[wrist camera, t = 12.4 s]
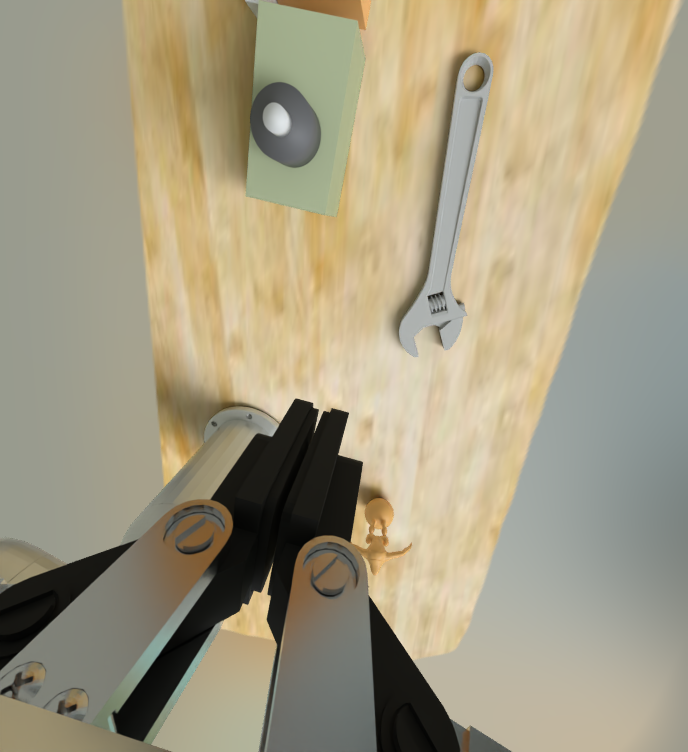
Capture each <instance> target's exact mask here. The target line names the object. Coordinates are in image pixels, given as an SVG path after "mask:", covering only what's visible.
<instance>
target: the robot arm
mask: <svg viewBox="0 0 688 752" xmlns="http://www.w3.org/2000/svg"><path fill="white" fill-rule="evenodd" d="M318 412H319V409H315V408H313V403H311V402H307V401H304V400H300V399H295V400H294V402H293V403H292V405H291V407H290V408H289V410H288V411H287V413H286V415H285V416H284V418H283V420H282V421H281V423H280V425H279V424H278V423H277V422H276V421H275V420H274V419H273V418H271V417H270V416H268V415H267V414H265V413H263V412H261V411H259V410H256V409H253V408H249V407H243V406H237V407H229V408H226V409H223V410H221V411H219V412H218V413H217V414H215V415H214V416H213V417H212V418H211V419H210V420H209V422H208V424H207V425H206V427H205V431H204V444H203V445H202V446H201V448H200V449H199V450H198V451H197V452H196V453H195V454H194V455H193V456H192V457H191V459H190V460H189V461H188V462H187V463H186V464H185V465H184V466H183V467H182V469H181V470H180V471H179V472H178V473H177V474H176V475H175V476H174V477H173V478H172V480H171V481H170V482H169V483H168V484H167V485H166V486H165V487H164V488H163V489H162V491H161V492H160V493H159V494H158V495H157V496H156V497H155V498H154V499H153V501H152V502H151V503H150V504H149V505H148V506H147V507H146V508H145V510H144V511H143V512H142V513H141V514H140V515H139V516H138V517H137V518H136V519H135V520H134V522H133V523H132V524H131V525H130V527H129V529H128V530H127V532H126V534H125V535H124V538H123V540H122V542H121V545H120V546H118V547H115V548H112V549H109V550H106V551H104V552H101V553H98V554H95V555H92V556H89V557H86V558H84V559H81V560H78V561H75V562H72V563H69V564H66V563H65V562H63V561H61V560H60V559H58V558H56V557H54V556H53V555H51V554H49V553H47V552H45V551H44V550H42V549H40V548H38V547H36V546H34V545H32V544H30V543H28V542H25V541H22V540H18V539H13V538H0V752H171V751H168V750H165V749H162V748H159V747H156V746H153V745H151V744H152V742H153V740H154V739H155V737H156V735H157V734H158V732H159V730H160V729H161V727H162V725H163V724H164V722H165V720H166V719H167V717H168V715H169V713H170V712H171V710H172V709H173V707H174V705H175V703H176V702H177V700H178V698H179V697H180V695H181V693H182V692H183V690H184V688H185V686H186V685H187V683H188V682H189V680H190V678H191V677H192V675H193V673H194V672H195V670H196V668H197V667H198V665H199V663H200V662H201V660H202V658H203V657H204V655H205V653H206V652H207V650H208V648H209V647H210V645H211V643H212V641H213V640H214V638H215V637H216V635H217V633H218V632H219V630H220V628H221V626H222V623H223V621H224V620H225V619H227V618H228V617H230V616H232V615H234V614H236V613H237V612H239V611H240V609H241V606H242V604H243V603H244V604H247V605H248V604H249V601H250V599H251V596H252V594H253V591H257V592H260V593H261V592H262V590H263V587H264V585H265V582H266V579H267V577H268V574H269V572H270V569H271V566H272V564H273V566H272V571H271V577H270V583H269V588H268V594H267V595H270V596H271V600H270V605H269V610H268V615H267V622H268V624H269V627H270V629H271V631H272V634H273V636H274V639H275V641H276V643H277V645H276V650H275V656H274V662H273V668H272V674H271V680H270V686H269V692H268V698H267V704H266V710H265V716H264V722H263V727H262V734H261V740H260V746H259V752H511V751H510V750H508V749H507V748H505V747H504V746H502V745H500V744H499V743H497V742H496V741H494V740H493V739H491V738H489V737H488V736H486V735H484V734H483V733H481V732H480V731H478V730H476V729H475V728H473V727H472V726H469V727H468V728H467V729H465V728H464V727H462V726H461V725H459V724H457V723H456V722H454V721H453V720H451V719H450V718H449V716H448V714H447V712H446V711H445V709H444V707H443V705H442V704H441V702H440V701H439V699H438V698H437V696H436V695H435V693H434V692H433V690H432V689H431V688H430V686H429V684H428V683H427V682H426V680H425V679H424V677H423V675H422V674H421V672H420V671H419V669H418V668H417V667H416V665H415V664H414V662H413V661H412V659H411V658H410V656H409V655H408V653H407V652H406V650H405V649H404V647H403V646H402V644H401V643H400V641H399V640H398V638H397V637H396V635H395V634H394V632H393V631H392V629H391V628H390V626H389V625H388V623H387V622H386V620H385V619H384V617H383V616H382V614H381V613H380V611H379V610H378V608H377V607H376V605H375V604H374V602H373V601H372V599H371V598H370V596H369V595H368V577H367V570H366V565H365V561H364V559H363V558H362V556H361V554H360V552H359V551H358V550H357V549H356V548H355V547H354V546H353V545H352V544H351V543H350V542H351V535H352V529H353V523H354V517H355V510H356V504H357V498H358V491H359V485H360V479H361V472H362V466H363V462H361V461H358V460H354V459H351V458H347V457H343V456H340V455H338V453H339V449H340V445H341V442H342V438H343V434H344V430H345V426H346V423H347V419H348V415H349V413H348V412H344V411H341V410H337V409H333V408H332V409H331V412H326V411H324V412H323V414H322V416H321V419H320V421H319V423H318V426H317V428H316V431H315V426H316V422H317V417H318ZM314 431H315V433H314Z"/></svg>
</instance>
